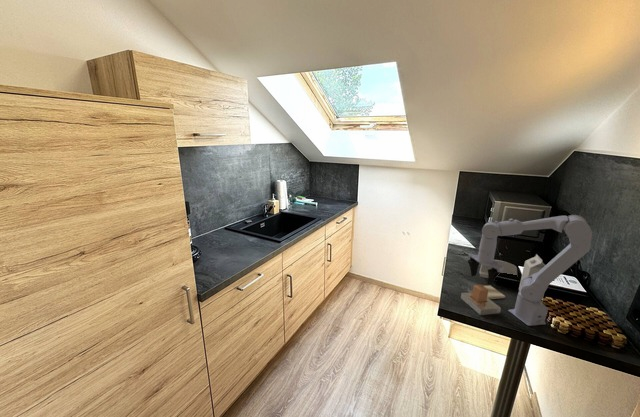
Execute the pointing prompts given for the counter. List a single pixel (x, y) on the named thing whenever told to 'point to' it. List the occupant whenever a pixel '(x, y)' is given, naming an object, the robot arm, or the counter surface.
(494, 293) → the board
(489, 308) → the socket block
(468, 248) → the counter surface
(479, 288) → the peg
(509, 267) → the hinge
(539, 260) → the milk carton
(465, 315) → the counter surface
